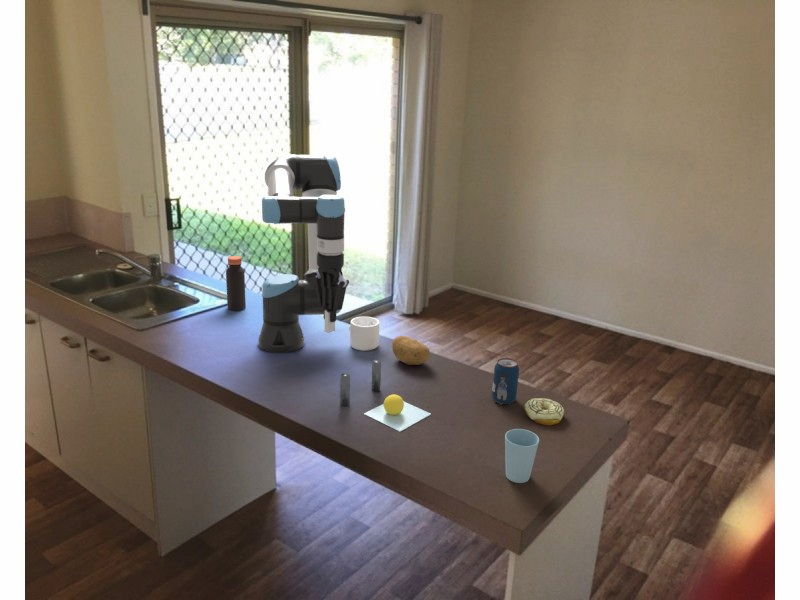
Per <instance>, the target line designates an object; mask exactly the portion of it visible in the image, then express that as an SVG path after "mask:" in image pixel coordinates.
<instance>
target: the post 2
mask: <svg viewBox="0 0 800 600" xmlns="http://www.w3.org/2000/svg"><path fill="white" fill-rule="evenodd" d="M371 364H372V366H371V389H370V391H372V392H374V393H379V392H381V387H382V385H381V383H382V381H381V380H382V361H381V360H380V359H374V360H372V361H371Z"/></svg>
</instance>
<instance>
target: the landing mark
mask: <svg viewBox="0 0 800 600" xmlns="http://www.w3.org/2000/svg"><path fill="white" fill-rule="evenodd" d="M403 402H404V408H403V410H402V411H401V412H400V413H399V414H397V415H391V414H389V413H387V412H386V411H385V409H384V403H383V404H380V405H378V406H376V407H374V408H372V409H370V410H368V411H366V412H364V413H363V415H365V416H367V417H369V418H370V419H373V420H375V421H377V422H379V423H381V424H383V425H384V426H388V427H389V428H391V429H393V430H395V431H397V432H400V433H401V432H403V431H404V430H406V429H408V428H410V427H412V426H414V425H415V424H417V423H419V422H420V421H423V420H424V419H426V418H427V417H430V416H431V415H432V413H430V412H428V411H426V410H424V409H421V408H420V407H417V406H415V405H412V404H410V403H409V402H406V401H404V400H403Z"/></svg>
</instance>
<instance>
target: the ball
mask: <svg viewBox="0 0 800 600" xmlns="http://www.w3.org/2000/svg"><path fill="white" fill-rule="evenodd" d="M403 401H404V400H403V398H402V396H401V395H398V394H394V393H393V394H390V395H389V394H388V396H386V398H384V401H383V404H384V409H385V411H386V412H387V413H389V414H391V415H397V414H399V413H400V412H401V411H402V410H403V408H404V402H405V401H404V402H403Z"/></svg>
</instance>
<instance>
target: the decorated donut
mask: <svg viewBox="0 0 800 600" xmlns="http://www.w3.org/2000/svg"><path fill="white" fill-rule="evenodd" d="M524 410H525V413H526V416H528V417H529V419H530V420H532V421H534V422H535V423H536V424H540V425H544V426H554V425H557V424H559V423H560V422H561V421H562V419H563V417H564V415H565V410H564V407H563V406H562V404H560V403H559V402H557V401H556V400H552V399H550V398H544V397H543V398H542V397H541V398H539V397H537V398H531V399H529V400H528V401H526V403H525V404H524Z"/></svg>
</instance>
